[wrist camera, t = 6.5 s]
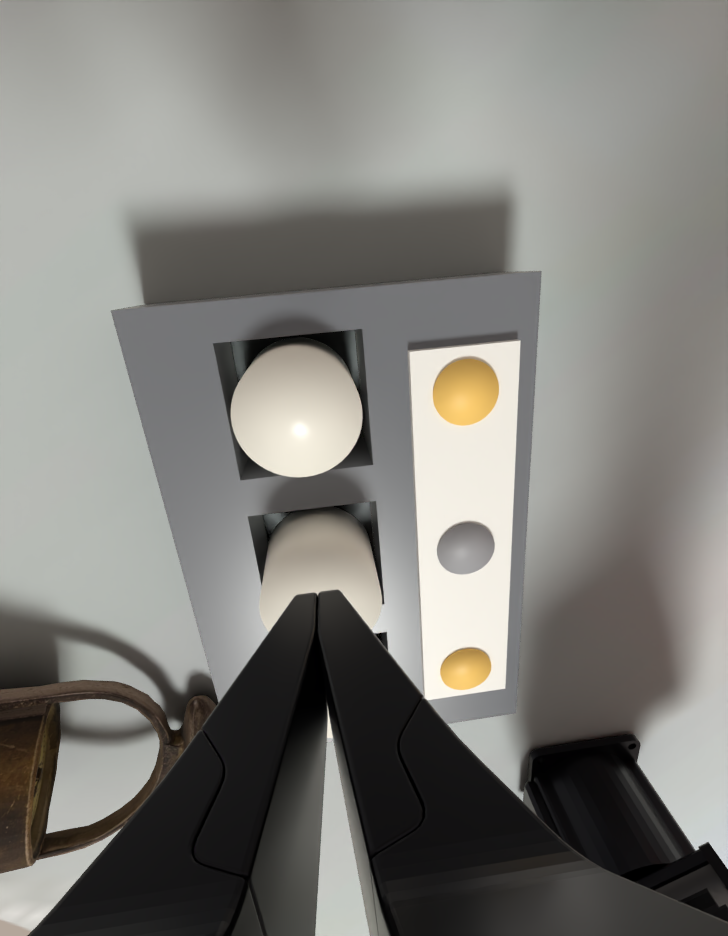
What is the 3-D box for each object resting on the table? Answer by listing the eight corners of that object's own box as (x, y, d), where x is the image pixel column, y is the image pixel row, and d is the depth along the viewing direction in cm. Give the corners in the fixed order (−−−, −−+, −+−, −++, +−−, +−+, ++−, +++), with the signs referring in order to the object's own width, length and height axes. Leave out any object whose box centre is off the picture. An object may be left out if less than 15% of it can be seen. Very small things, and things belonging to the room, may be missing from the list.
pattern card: (516, 339, 15) (521, 341, 15) (502, 683, 21) (506, 690, 21) (407, 350, 15) (410, 352, 15) (423, 695, 21) (425, 702, 21)
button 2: (348, 331, 17) (356, 344, 14) (358, 437, 18) (367, 469, 15) (235, 342, 17) (218, 358, 14) (254, 449, 18) (243, 484, 15)
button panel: (504, 271, 17) (541, 270, 15) (493, 664, 25) (516, 713, 22) (144, 304, 17) (110, 310, 14) (242, 701, 24) (233, 756, 21)
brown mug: (-132, 681, 15) (-264, 935, 16) (233, 818, 18) (107, 1033, 18) (5, 591, 22) (-90, 768, 23) (251, 697, 25) (160, 855, 25)
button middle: (366, 499, 18) (377, 545, 15) (373, 586, 19) (385, 644, 16) (259, 512, 18) (249, 562, 15) (276, 599, 19) (269, 661, 16)
